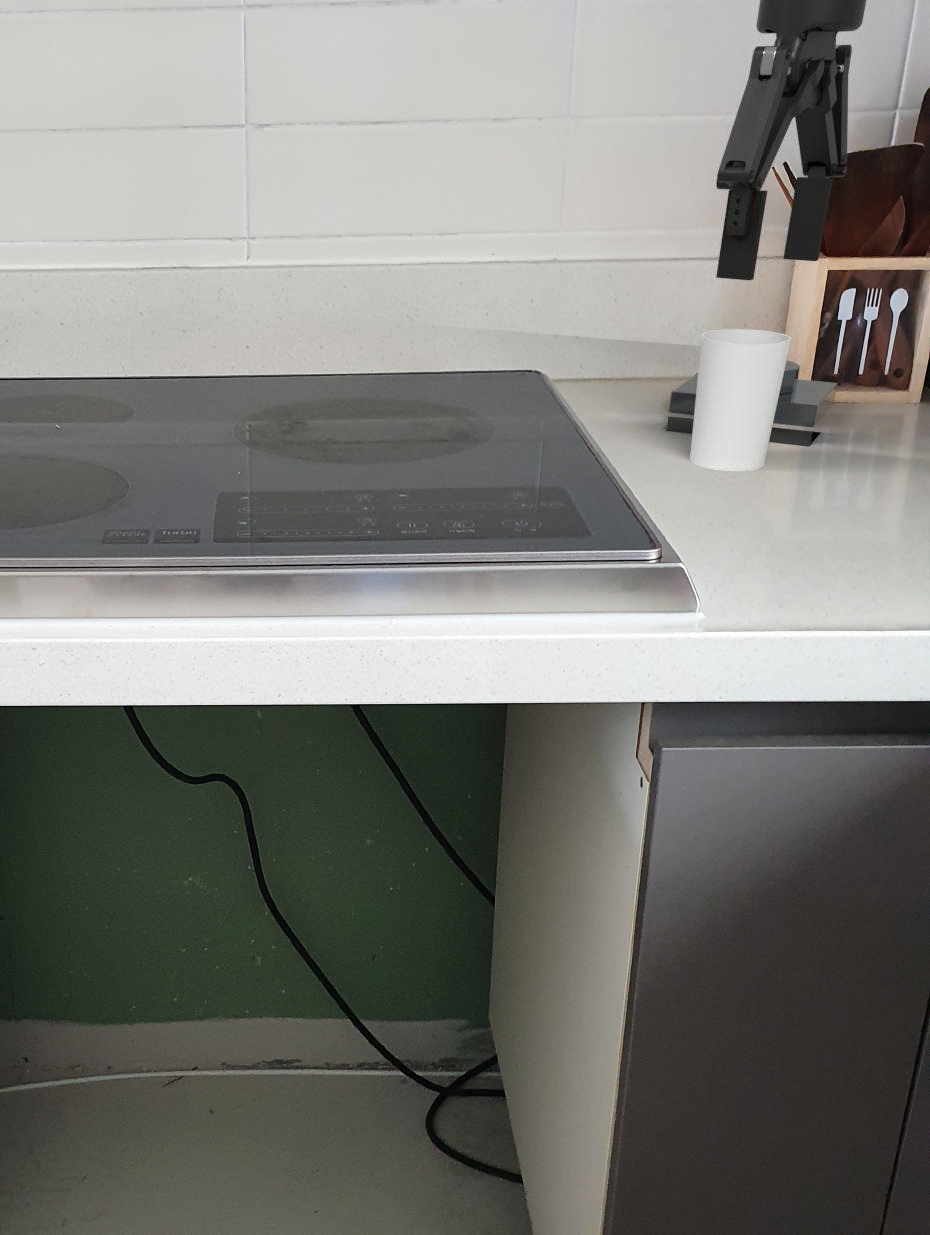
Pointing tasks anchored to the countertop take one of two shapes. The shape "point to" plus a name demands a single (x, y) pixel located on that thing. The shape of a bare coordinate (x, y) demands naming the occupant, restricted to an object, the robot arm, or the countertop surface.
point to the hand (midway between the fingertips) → (768, 269)
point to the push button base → (794, 406)
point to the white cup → (737, 397)
